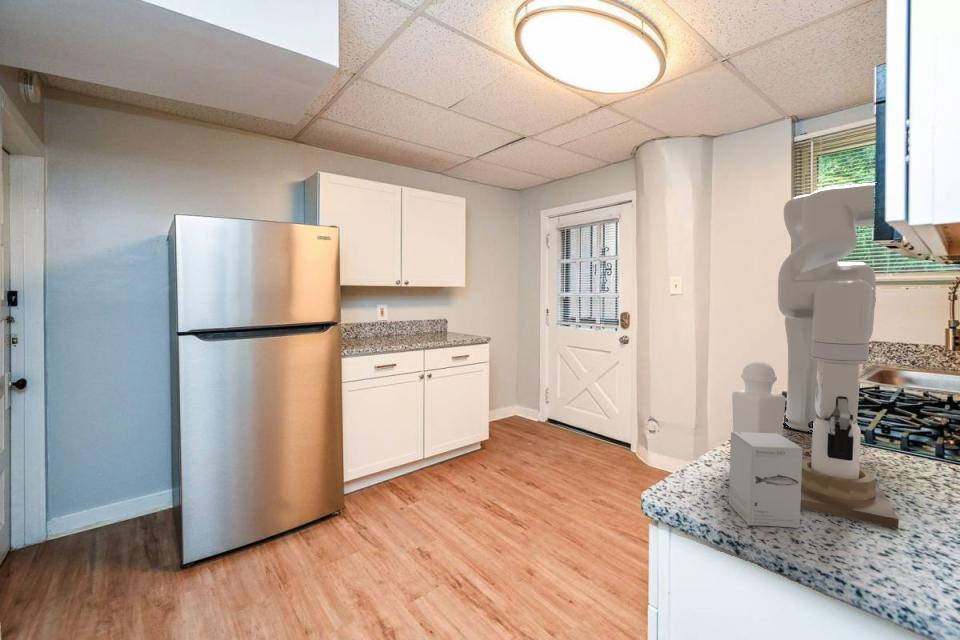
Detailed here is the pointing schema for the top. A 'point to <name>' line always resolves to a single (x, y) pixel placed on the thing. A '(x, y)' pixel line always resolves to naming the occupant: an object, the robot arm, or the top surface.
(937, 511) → the top surface
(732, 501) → the supplement box
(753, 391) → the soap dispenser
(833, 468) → the can
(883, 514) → the mount board
